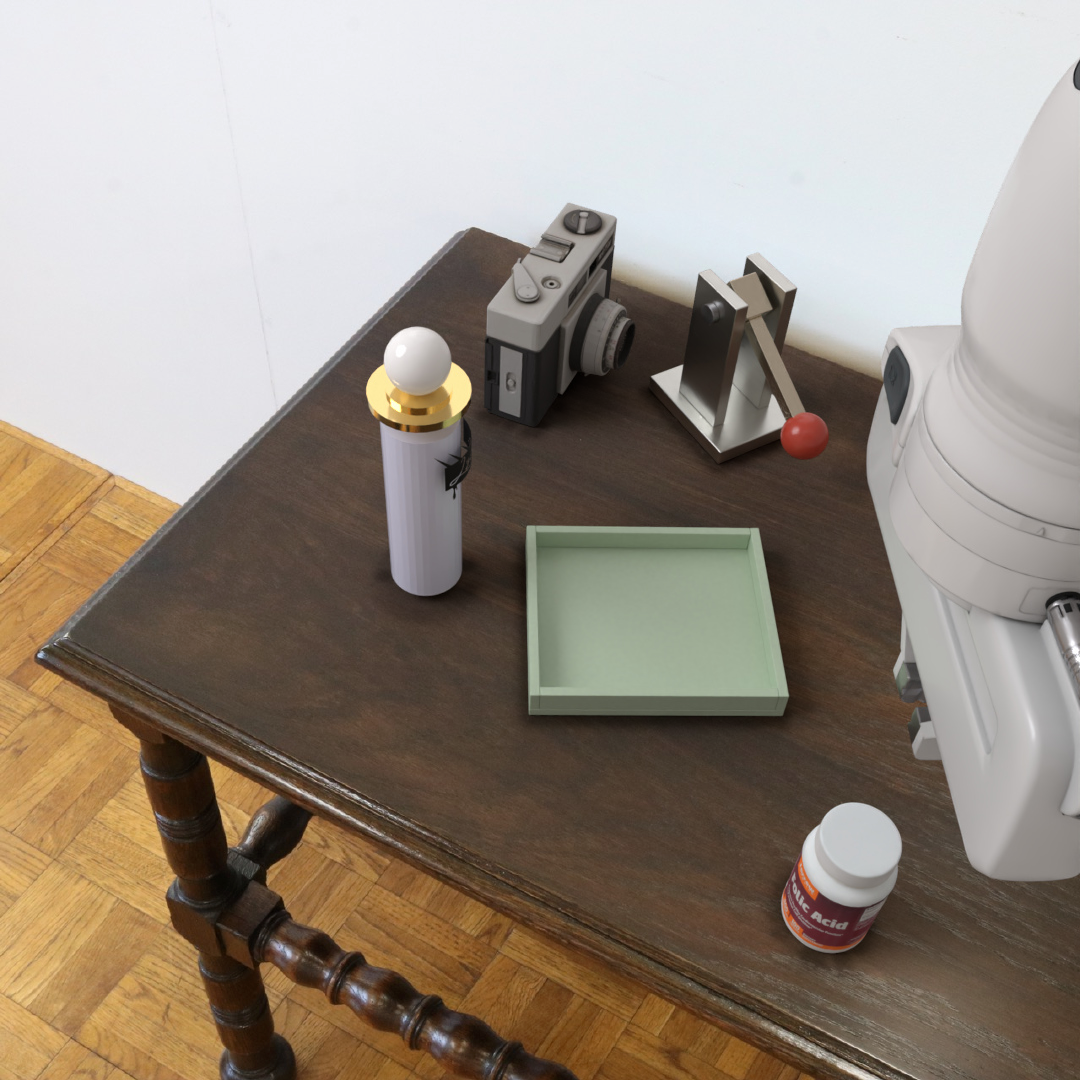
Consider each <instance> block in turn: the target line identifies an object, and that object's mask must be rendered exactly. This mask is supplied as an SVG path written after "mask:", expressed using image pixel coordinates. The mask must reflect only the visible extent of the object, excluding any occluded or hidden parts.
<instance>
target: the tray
mask: <svg viewBox="0 0 1080 1080" xmlns="http://www.w3.org/2000/svg"><path fill="white" fill-rule="evenodd" d="M760 533H761V532H760V528H759V527H750V528H749V527H699V526H698V527H697V526H696V527H695V526H694V527H691V526H689V527H685V526H679V527H677V526H612V525H611V526H601V525H600V526H599V525H597V526H596V525H595V526H594V525H587V526H586V525H526V531H525V577H526V578H525V584H526V585H525V587H526V588H525V589H526V635H527V637H526V639H527V642H526V643H527V644H526V645H527V691H528V694H527V695H528V715H529V716H677V717H678V716H680V717H682V716H686V717H688V716H692V717H694V716H696V717H697V716H701V717H702V716H703V717H704V716H705V717H709V716H711V717H712V716H713V717H783V716H784V713H785V710H786V707H787V705H788V701H789V698H790V693H789V688H788V683H787V678H786V672H785V667H784V666H785V665H784V661H783V655H782V648H781V643H780V639H779V633H778V627H777V622H776V615H775V611H774V605H773V600H772V594H771V590H770V589H771V587H770V582H769V578H768V572H767V567H766V561H765V555H764V550H763V544H762V538H761V534H760Z"/></svg>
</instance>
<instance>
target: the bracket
mask: <svg viewBox="0 0 1080 1080" xmlns="http://www.w3.org/2000/svg"><path fill="white" fill-rule="evenodd" d="M754 272H756V273H757V275H758V278H759V280H760V282H761V284H762V286H763V289H764V291H765V293H766V295H767V297H768V299H769V302H770V304H771V306H772V308H773V309H772V310H771V311H770V312H769V313H767V314H766V315H765V316H763V320H764V322H765V324H766V326H767V328H768V331H769V333H770V335H771V337H772V339H773V342H774V344H775V346H776V348H777V350H778V352H779V355H780V357H781V358H782V353H783V350H784V345H785V341H786V337H787V334H788V333H787V332H788V328H789V324H790V321H791V316H792V313H793V308H794V305H795V300H796V296H797V291H798V287H797V286H796V285H795V284H794V283H793V282H792V281H790V280H789V279H788V278H787V277H786V276H785V275H784V274H783V273H782V272H781V271H780V270H778V269H777V267H775V266H774V265H773V264H772V263H771V262H769V261H768V260H767V259H766V257H764V256H763V255H762V254H761V253H760V252H755V253H752V254H749V255H747V256H746V258H745V262H744V268H743V272H742V277H743V276H745V275H748V274H751V273H754ZM695 287H696V288H695V293H694V299H693V305H692V309H691V315H690V322H689V327H688V334H687V340H686V347H685V352H684V357H683V364H680V365H678V366H675V367H671V368H669V369H666V370H663V371H661V372H658V373H656V374H653V375H650V376H649V382H648V389H649V390H650V392H652V394H653V395H654V396H655V397H656V398H657V399H658V400H659V401H660V403H662V404H663V405H664V407H665V408H666V409H667V410H668V411H669V412H670V413H671V415H672V416H673V417H674V418H675V419H676V420H677V421H678V422H679V423H680V424H681V425H682V426H683V428H684V429H685V430H686V431H687V432H688V433H689V434H690V435H691V436H692V437H693V439H695V441H696V442H697V443H698V444H699V445H700V446H701V448H703V449H704V451H706V453H707V454H708V455H709V456H710V457H711V458H712V459H713V460H714V461H715V463H716V464H721V463H724V462H727V461H729V460H731V459H734V458H737V457H739V456H741V455H744V454H746V453H749V452H751V451H753V450H756V449H758V448H761V447H763V446H765V445H768V444H771V443H773V442H775V441H777V440H781V439H780V435H781V429H782V427H783V425H784V423H785V422H786V420H785V418H784V416H783V414H782V411H781V409H780V407H779V405H778V403H777V400H776V398H775V396H774V394H773V392H772V389H771V387H770V385H769V383H768V381H767V378H766V376H765V374H764V372H763V370H762V367H761V365H760V363H759V361H758V359H757V356H756V354H755V352H754V350H753V348H752V345H751V343H750V341H749V339H748V337H747V334H746V332H745V330H744V326H745V321H746V316H747V311H748V307H749V306H748V304H747V303H746V302H745V301H743V300H742V299H741V298H740V297H739V296H738V295H737V294H736V293H735V292H734V291H733V290H732V289H731V288H730V287H729V286H728V285H727V283H726V282H725V281H724V280H723V279H721V278H720V276H718V274H716V272H714V271H713V269H712V268H709V269H706V270H705V269H704V271H703V270H702V271H700V272H698V274H697V281H696V286H695Z"/></svg>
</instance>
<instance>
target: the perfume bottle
mask: <svg viewBox="0 0 1080 1080" xmlns="http://www.w3.org/2000/svg"><path fill="white" fill-rule="evenodd" d="M365 388H366V389H365V393H366V403H367V406H368V410H369V411H370V412H371V414H372V416H374V418H375V419H376V420H377V421H378V422H379V429H380V430H379V431H380V444H381V445H380V446H381V454H382V455H381V458H382V469H383V470H382V471H383V481H384V482H383V485H384V496H385V497H384V498H385V508H386V509H385V511H386V522H387V534H388V549H389V562H390V571H391V572H390V574H391V576H392V579H393V580H394V583H395V584H396V585H397V586H398V587H399V588H400V589H402V590H403V591H405V592H407V593H409V594H411V595H415V596H421V597H429V596H430V597H431V596H437V595H440V594H442V593H445V592H447V591H449V590H451V589H452V588H453V587H454V586H455V585H456V584H457V583H458V582H459V580H460V578H461V576H462V573H463V514H462V513H463V508H462V507H463V506H462V505H463V504H462V503H463V502H462V482H463V481H464V480H465V479H466V477H467V476H468V474H469V472H470V471H471V468H472V462H473V461H472V460H473V459H472V457H473V455H472V453H473V451H472V448H473V445H472V444H473V440H472V439H473V437H472V430H471V427H470V425H469V422H468V421H467V420H466V419H465V417H464V416H465V415H466V413H467V412H468V410H469V408H470V406H471V403H472V397H473V396H472V391H473V389H472V383H471V380H470V378H469V376H468V374H467V373H466V371H465V370H464V369H463V368H461V367H460V365H458V364H456V363H455V362H453V361H452V352H451V350H450V348H449V345H448V343H447V342H446V340H445V339H444V338H443V336H441V335H440V333H438V332H436V331H435V330H433V329H431V328H428V327H425V326H411V327H405V328H404V329H401V330H399V331H398V332H396V334H395V335H393V336H392V337H391V339H390V340H389V342H388V344H386V347H385V350H384V354H383V364H382V365H380V366H379V367H377V369H375V370H374V371H373V372H372V373H371V375H370V377H369V379H368V381H367V384H366V387H365ZM462 421H463V422H462ZM462 425H463V426H462ZM462 427H463V428H462ZM462 431H463V433H462ZM462 434H463V437H462ZM462 438H463V439H462ZM462 441H463V442H464V443H465V445H466V446H465V445H462ZM462 449H464V450H466V452H465V453H464V454H463V456H462Z"/></svg>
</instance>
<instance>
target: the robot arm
mask: <svg viewBox="0 0 1080 1080" xmlns="http://www.w3.org/2000/svg"><path fill="white" fill-rule="evenodd" d="M884 345H885V346H884V349H883V352H882V356H881V361H880V371H881V376H882V379H883V381H882V382H883V383H882V386H881V389H880V393H879V396H878V399H877V403H876V407H875V411H874V415H873V418H872V422H871V427H870V431H869V434H868V440H867V444H866V459H865V460H866V478H867V485H868V489H869V492H870V495H871V499H872V502H873V506H874V511H875V514H876V519H877V522H878V525H879V528H880V532H881V536H882V540H883V545H884V549H885V551H886V555H887V559H888V562H889V567H890V570H891V575H892V578H893V581H894V585H895V589H896V593H897V597H898V600H899V604H900V608H901V629H900V652H899V655H898V657H897V660H896V662H895V664H894V666H893V669H892V672H893V677H894V680H895V684H896V688H897V691H898V695H899V699H900V701H901V702H902V703H906V704H913V703H916V702H917V701H919V702H921V703H924V704H926V706H915V708H914V709H913V712H912V714H911V717H910V721H908V722H907V724H906V726H907V730H908V734H909V738H910V743H911V748H912V753H913V756H914V758H915V759H917V760H919V761H941V762H942V766H943V770H944V773H945V777H946V781H947V785H948V789H949V793H950V796H951V800H952V804H953V807H954V812H955V816H956V819H957V823H958V827H959V830H960V833H961V838H962V842H963V846H964V850H965V853H966V856H967V859H968V862H969V863H970V864H969V865H971V867H972V868H973V869H975V870H976V871H977V872H979V873H981V874H983V875H985V876H986V877H989V878H991V879H994V880H999V881H1010V882H1050V881H1060V880H1061V881H1062V880H1068V879H1071V878H1074V877H1077V876H1078V875H1080V56H1079V57H1078V58H1077V60H1075V62H1074V63H1073V64H1071V65H1070V67H1069V68H1068V69H1067V70H1066V71H1065V73H1064V74H1063V75H1062V76H1061V78H1060V79H1059V80H1058V81H1057V83H1056V84H1055V86H1054V87H1053V88H1052V90H1051V91H1050V93H1049V94H1048V96H1047V97H1046V99H1045V100H1044V101H1043V103H1042V105H1041V107H1040V109H1039V110H1038V112H1037V114H1036V115H1035V117H1034V119H1033V121H1032V123H1031V124H1030V126H1029V128H1028V130H1027V131H1026V134H1025V136H1024V138H1023V140H1022V142H1021V143H1020V146H1019V147H1018V150H1017V152H1016V154H1015V156H1014V158H1013V160H1012V162H1011V165H1010V167H1009V168H1008V171H1007V173H1006V174H1005V177H1004V179H1003V182H1002V184H1001V186H1000V189H999V191H998V192H997V196H996V198H995V200H994V202H993V205H992V207H991V209H990V212H989V215H988V217H987V219H986V222H985V224H984V227H983V229H982V232H981V235H980V237H979V240H978V243H977V245H976V247H975V250H974V253H973V256H972V258H971V261H970V264H969V267H968V270H967V272H966V276H965V280H964V283H963V287H962V292H961V300H960V324H941V325H939V324H938V325H935V324H934V325H919V326H918V325H917V326H916V325H915V326H903V327H895V328H893V329H892V330H891V331H890V333H889V334H888V337H887V339H886V342H885V344H884Z"/></svg>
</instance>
